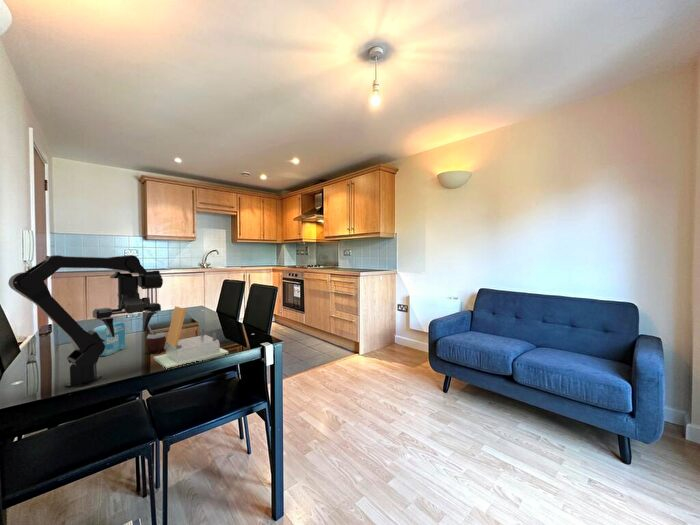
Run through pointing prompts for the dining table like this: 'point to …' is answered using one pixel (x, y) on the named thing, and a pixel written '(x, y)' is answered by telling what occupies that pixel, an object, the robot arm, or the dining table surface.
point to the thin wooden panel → (176, 326)
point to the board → (169, 362)
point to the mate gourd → (155, 341)
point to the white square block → (193, 348)
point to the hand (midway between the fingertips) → (129, 334)
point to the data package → (112, 342)
